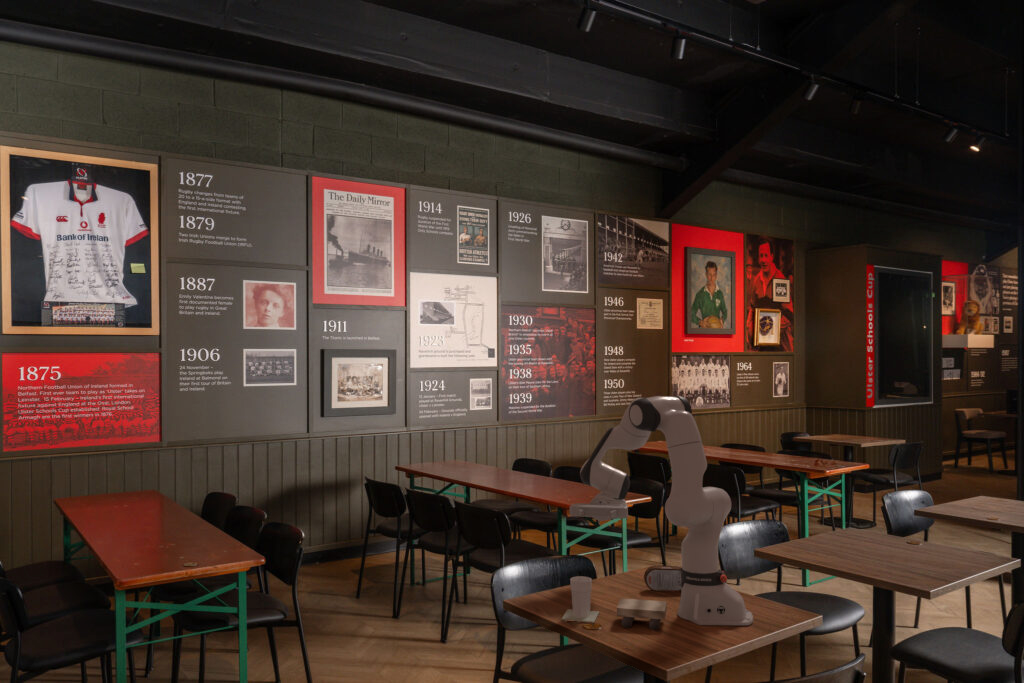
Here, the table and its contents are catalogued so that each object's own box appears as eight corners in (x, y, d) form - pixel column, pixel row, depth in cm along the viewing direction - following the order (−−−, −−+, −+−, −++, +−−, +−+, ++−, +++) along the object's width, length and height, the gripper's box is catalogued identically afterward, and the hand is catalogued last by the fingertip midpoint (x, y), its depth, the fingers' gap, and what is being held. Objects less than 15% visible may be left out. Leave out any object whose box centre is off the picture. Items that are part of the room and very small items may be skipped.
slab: (667, 618, 229) (666, 600, 230) (664, 631, 218) (664, 612, 218) (621, 615, 233) (621, 597, 233) (616, 627, 222) (616, 609, 222)
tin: (687, 590, 260) (687, 565, 260) (689, 592, 257) (688, 567, 257) (644, 589, 261) (643, 565, 262) (644, 592, 258) (644, 567, 258)
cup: (580, 620, 227) (580, 583, 227) (566, 614, 232) (565, 578, 232) (596, 615, 231) (596, 579, 231) (581, 610, 236) (581, 575, 237)
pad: (599, 613, 235) (599, 611, 235) (594, 623, 225) (594, 621, 225) (567, 611, 237) (567, 609, 238) (561, 621, 228) (561, 619, 228)
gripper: (572, 497, 269) (565, 504, 255) (629, 499, 263) (625, 506, 250) (572, 515, 268) (565, 522, 255) (630, 517, 263) (625, 525, 250)
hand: (595, 514), depth 252 cm, fingers open, 8 cm apart
